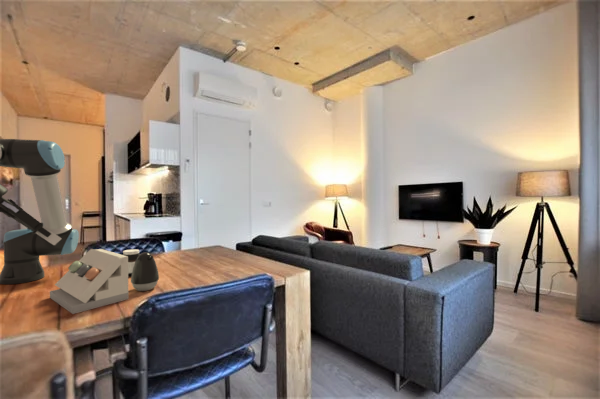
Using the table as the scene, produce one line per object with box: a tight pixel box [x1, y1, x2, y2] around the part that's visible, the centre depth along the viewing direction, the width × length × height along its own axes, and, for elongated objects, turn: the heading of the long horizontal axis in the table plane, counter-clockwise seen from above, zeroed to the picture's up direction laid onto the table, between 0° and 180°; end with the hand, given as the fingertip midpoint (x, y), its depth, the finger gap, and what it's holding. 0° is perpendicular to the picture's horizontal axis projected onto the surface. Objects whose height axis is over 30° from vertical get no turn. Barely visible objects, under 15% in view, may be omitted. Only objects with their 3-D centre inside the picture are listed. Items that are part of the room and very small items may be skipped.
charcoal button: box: [76, 264, 91, 277], centre depth 108 cm, size 4×4×4 cm
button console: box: [49, 248, 129, 315], centre depth 110 cm, size 25×17×17 cm
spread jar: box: [122, 249, 141, 277], centre depth 142 cm, size 12×11×12 cm
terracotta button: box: [85, 267, 100, 281], centre depth 103 cm, size 4×4×4 cm
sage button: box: [68, 260, 83, 273], centre depth 113 cm, size 4×4×4 cm
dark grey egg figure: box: [130, 252, 160, 292], centre depth 121 cm, size 10×10×15 cm
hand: (57, 241), depth 95 cm, fingers closed
